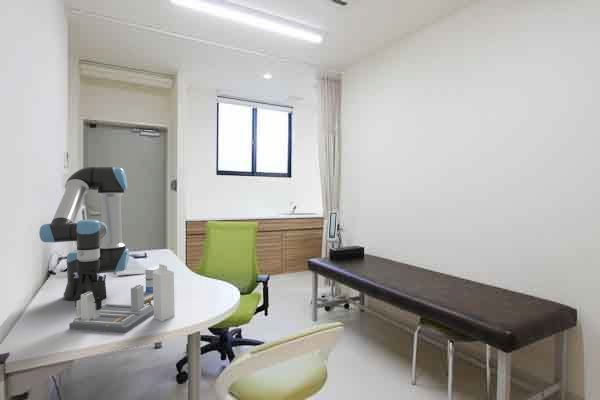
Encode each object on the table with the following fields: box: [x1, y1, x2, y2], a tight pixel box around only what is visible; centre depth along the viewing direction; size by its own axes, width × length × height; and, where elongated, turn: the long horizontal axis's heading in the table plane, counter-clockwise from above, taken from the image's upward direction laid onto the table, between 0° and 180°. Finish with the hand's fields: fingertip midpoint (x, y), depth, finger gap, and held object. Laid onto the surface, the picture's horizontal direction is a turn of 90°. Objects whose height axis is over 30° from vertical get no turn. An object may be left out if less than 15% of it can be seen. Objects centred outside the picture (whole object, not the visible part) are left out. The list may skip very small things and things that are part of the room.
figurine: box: [144, 295, 153, 307], centre depth 143 cm, size 4×4×15 cm
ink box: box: [144, 265, 159, 293], centre depth 165 cm, size 8×5×12 cm, turn 168°
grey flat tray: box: [68, 302, 154, 333], centre depth 127 cm, size 24×20×3 cm
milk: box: [152, 263, 176, 322], centre depth 130 cm, size 6×6×22 cm
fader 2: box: [130, 284, 145, 312], centre depth 131 cm, size 3×4×10 cm
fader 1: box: [81, 291, 95, 320], centre depth 123 cm, size 3×4×10 cm
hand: (88, 316), depth 124 cm, fingers open, 7 cm apart
